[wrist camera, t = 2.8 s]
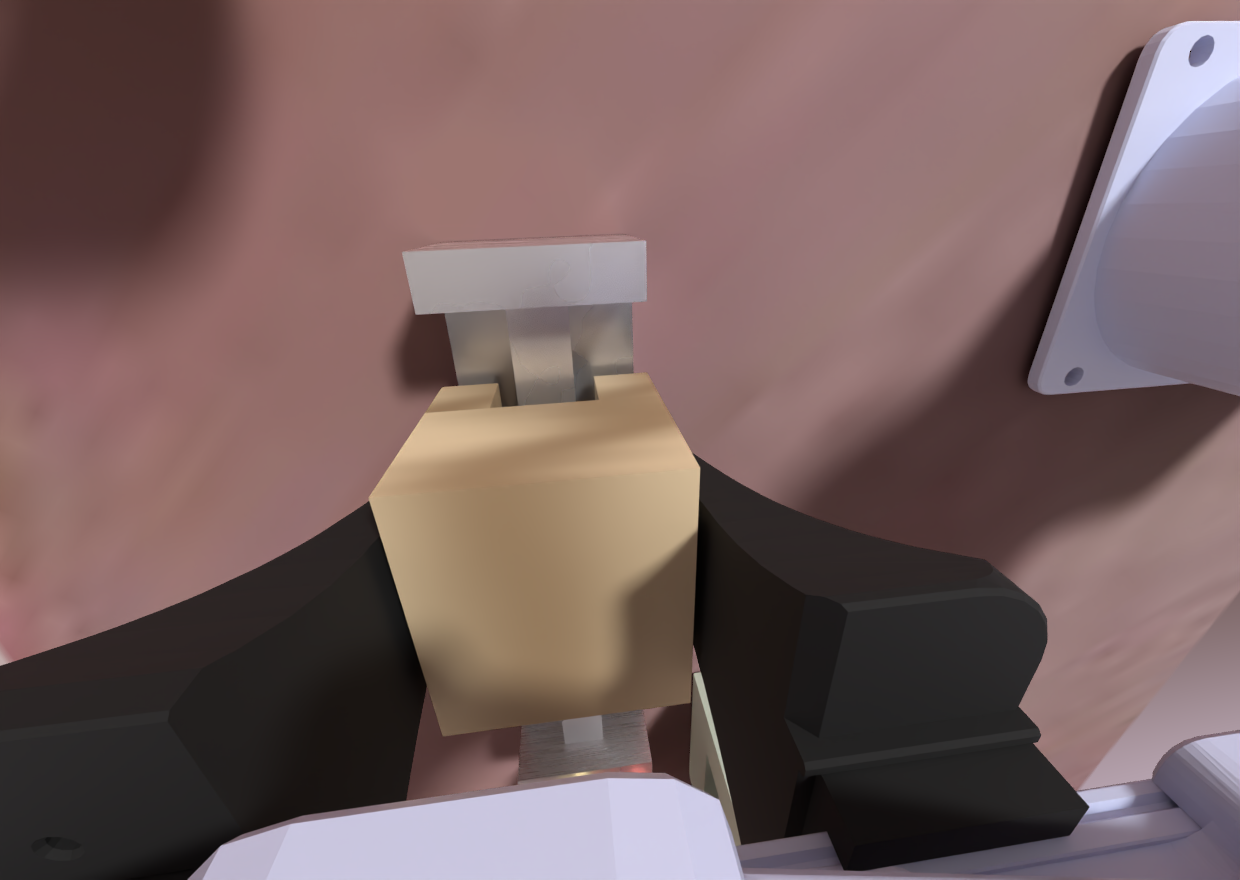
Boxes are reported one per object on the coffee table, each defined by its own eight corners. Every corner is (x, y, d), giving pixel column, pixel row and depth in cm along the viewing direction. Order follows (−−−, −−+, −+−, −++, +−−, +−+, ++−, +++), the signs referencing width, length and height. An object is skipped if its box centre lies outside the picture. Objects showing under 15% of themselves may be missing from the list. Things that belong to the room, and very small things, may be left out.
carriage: (647, 372, 11) (700, 467, 7) (649, 550, 13) (690, 702, 9) (442, 387, 10) (368, 498, 6) (480, 568, 13) (442, 736, 8)
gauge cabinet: (852, 652, 18) (992, 860, 12) (828, 752, 20) (933, 963, 15) (693, 673, 17) (760, 901, 11) (689, 773, 20) (742, 1000, 14)
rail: (624, 234, 11) (645, 241, 8) (638, 699, 17) (652, 781, 15) (439, 242, 10) (402, 252, 8) (527, 714, 17) (521, 801, 14)
